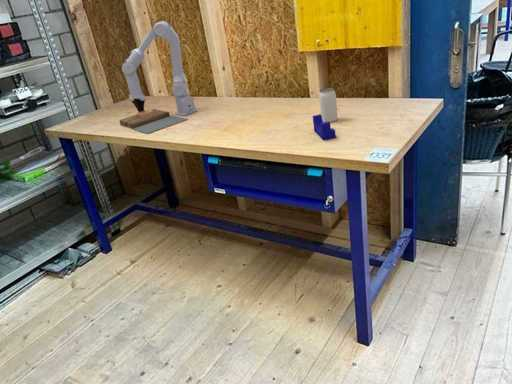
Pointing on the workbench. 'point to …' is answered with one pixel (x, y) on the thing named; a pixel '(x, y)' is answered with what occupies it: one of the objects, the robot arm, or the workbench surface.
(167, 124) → the mat
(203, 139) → the workbench surface
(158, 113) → the deck
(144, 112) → the tile
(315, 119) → the blue angular piece
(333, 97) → the can
